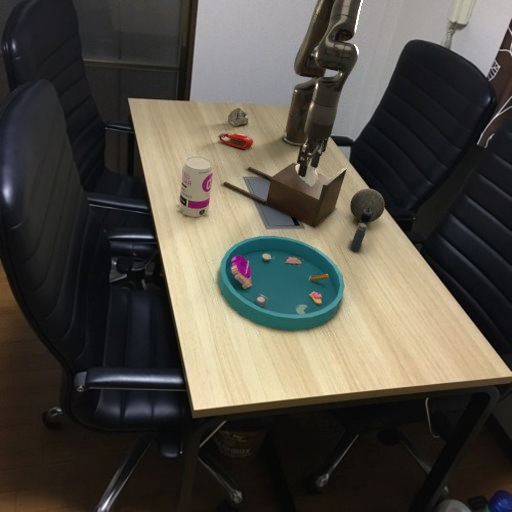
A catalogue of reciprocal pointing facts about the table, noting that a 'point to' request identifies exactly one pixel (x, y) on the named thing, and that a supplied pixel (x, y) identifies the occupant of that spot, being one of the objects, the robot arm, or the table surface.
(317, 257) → the round teal tray
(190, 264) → the table surface
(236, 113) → the grey brown rock
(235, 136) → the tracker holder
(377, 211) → the decorative ball
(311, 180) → the pincushion
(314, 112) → the robot arm
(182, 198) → the supplement can
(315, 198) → the box with long handles
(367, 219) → the vaping device
